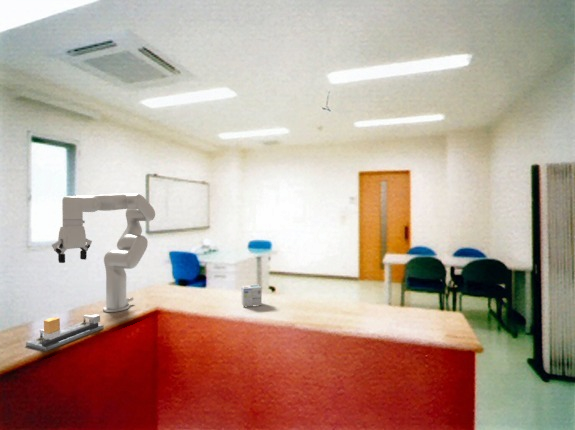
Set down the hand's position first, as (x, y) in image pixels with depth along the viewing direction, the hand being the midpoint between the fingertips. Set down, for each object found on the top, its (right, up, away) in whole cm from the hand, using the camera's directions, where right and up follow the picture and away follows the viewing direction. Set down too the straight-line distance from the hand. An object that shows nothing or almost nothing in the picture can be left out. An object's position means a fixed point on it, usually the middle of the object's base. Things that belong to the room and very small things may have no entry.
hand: (73, 261), depth 141 cm
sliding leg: (+2, -29, -17) cm, 33 cm away
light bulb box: (+77, -31, +36) cm, 90 cm away
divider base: (+4, -31, -10) cm, 32 cm away
